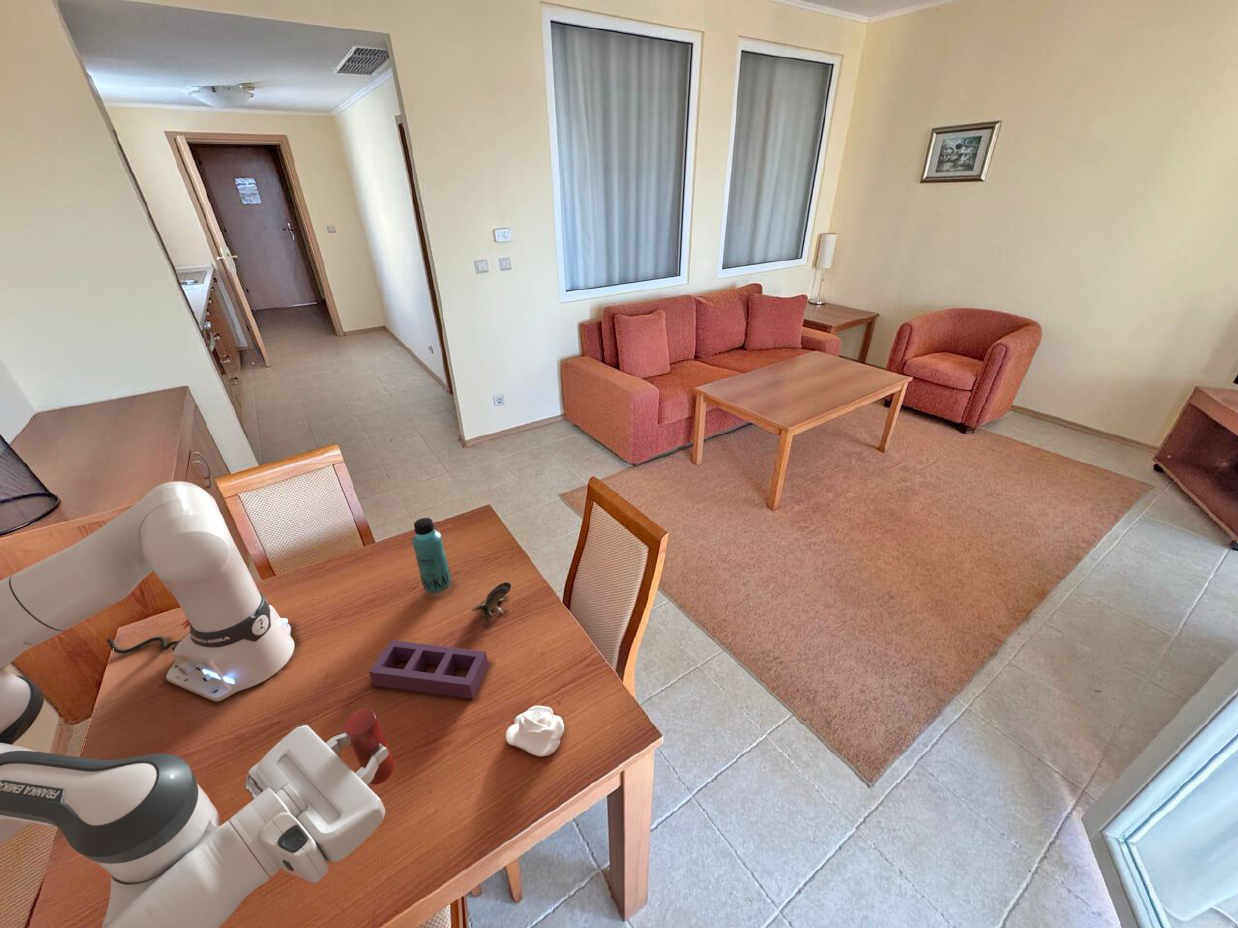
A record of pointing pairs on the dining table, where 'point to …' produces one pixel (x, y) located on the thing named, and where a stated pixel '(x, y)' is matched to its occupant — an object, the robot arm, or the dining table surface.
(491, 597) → the eagle figurine
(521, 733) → the rose
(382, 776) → the red peg
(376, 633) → the dining table surface
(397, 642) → the peg board
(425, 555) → the beverage bottle
